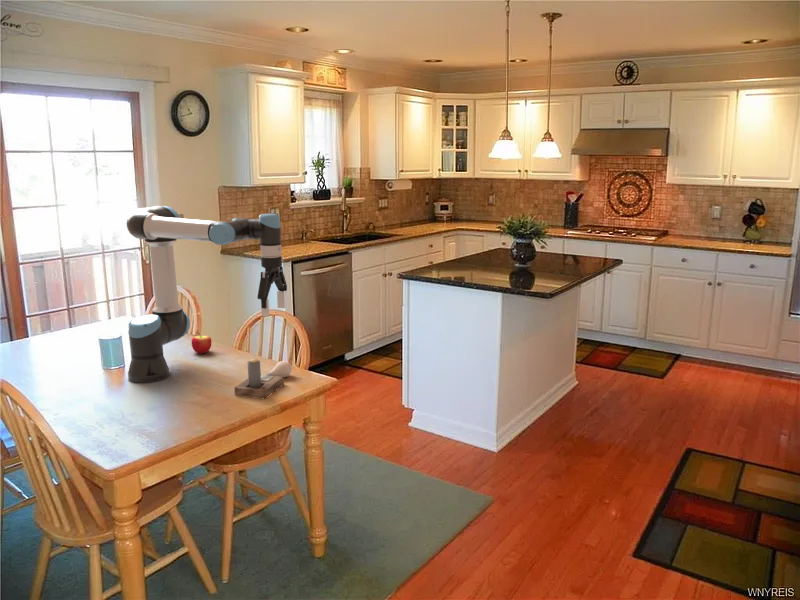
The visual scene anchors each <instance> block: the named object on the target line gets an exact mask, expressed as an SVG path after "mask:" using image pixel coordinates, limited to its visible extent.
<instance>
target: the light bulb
mask: <svg viewBox="0 0 800 600" xmlns="http://www.w3.org/2000/svg"><path fill="white" fill-rule="evenodd" d="M292 370H293V369H292V365H291V363H289V362H288V361H287V360H281V361H278V362H276V364H275V365H274V367H273V369H271V370H270V371H269V372H267V373H265V375H270V376H279V377H284V378H286V377H289V376H290V375H291V373H292Z"/></svg>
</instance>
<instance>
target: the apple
mask: <svg viewBox="0 0 800 600" xmlns="http://www.w3.org/2000/svg"><path fill="white" fill-rule="evenodd" d="M196 333H198V335H195V336H193V337H192V338H191V347H192V349H193V351H194V352H195V353H196V354H199V355H200V354H201V355H202V354H203V353H204V354H206V352H207V353H208V352H209V351H210V350H211V348H212V338H211V337H210V336H209V335H201V333H199V331H196Z"/></svg>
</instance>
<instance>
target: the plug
mask: <svg viewBox="0 0 800 600" xmlns="http://www.w3.org/2000/svg"><path fill="white" fill-rule="evenodd" d="M247 375H248V377H247V379H248V381H249V388H256V389H258V388H260V387H261V375H262V373H261V360H259V359H258V358H249V359H248V361H247Z"/></svg>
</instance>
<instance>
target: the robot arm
mask: <svg viewBox="0 0 800 600" xmlns="http://www.w3.org/2000/svg"><path fill="white" fill-rule="evenodd" d="M281 227H282V224H281V217H280V215H279V214H277V213H261V214H260V215H259V216H258V219H257V218H246V217H245V218H244V217H235V218H232V219H231V220H230V221H220V220H219V221H217V220H216V221H215V220H207V219H206V220H204V219H192V218H181V217H180V215H179V213H178V212H177V211H176V210H175V209H174V208H173V207H171V206H167V205H155V206H149V207H141V208H137V209H134V210H133V211H131V213H129V215H128V216H127V219H126V228H127V230H128V233H129V234H130V235H131V236H132V237H134V238H136V239H139V240H144V242H145V243H146V244H147V245H148V246H149V250H150V260H151V261H150V262H151V263H150V264H151V272H152V280H153V281H152V282H153V290H154V291H153V292H154V302H155V305H154V307H153V308H152V309H151V312H152V314H144V315H139V316H136V317H134V318H132V319H131V320H130V321H129V322H128V333H127V334H128V340H129V347H130V348H129V349H130V356H131V357H130V358H131V359H130V364H129V366H128V371H127V378H128V380H129V381H130V382H133V383H138V384H140V383H141V384H144V383H145V384H146V383H153V382H155V383H156V382H159V381H162V380H165V379H167V378H168V377H169V376H170V374H171V373H170V372H171V371H170V367H169V365H168V362H167V361H166V358H165V355H164V347H163V346H164V345H167V344H169V343H171V342H174V341H177V340H179V339H181V338H183V337H185V335H187V333H188V332H189V330H190V326H191V320H190V317H189V315H188V314H187V313H186V311H185V310H184V308H183V306H182V305H181V304H180V303H179V297H178V286H177V275H176V274H177V273H176V267H175V266H176V265H175V264H176V263H175V253H174V244H175V243H176V242H177V240H186V241H196V242H209V243H210V242H211V243H214V244H215V245H219V246H222V245H223V246H224V245H229V244H232V243H236V242H241V241H244V240H259V244H260V246H259V247H260V256H261V258H260V263H261V265H260V266H261V267H262V268H264V271H261V272H260V280H259V287H258V291H257V300H260V311H261V317H265V318H269V317H270V301H269V293H270V290H271V288H272V285H273V284H275V286H276V288H277V291H276V295H277V296H276V298H277V302H276V303H277V309H286V304H285V303H286V301H285V300H286V299H285V292H286V291H287V290H288V284H287V281H286V277H285V274H284V269H283V260H282V259H283V257H282V256H281V255H282V251H283V247H282V237H281V236H282V233H281V232H282V230H281Z"/></svg>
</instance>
